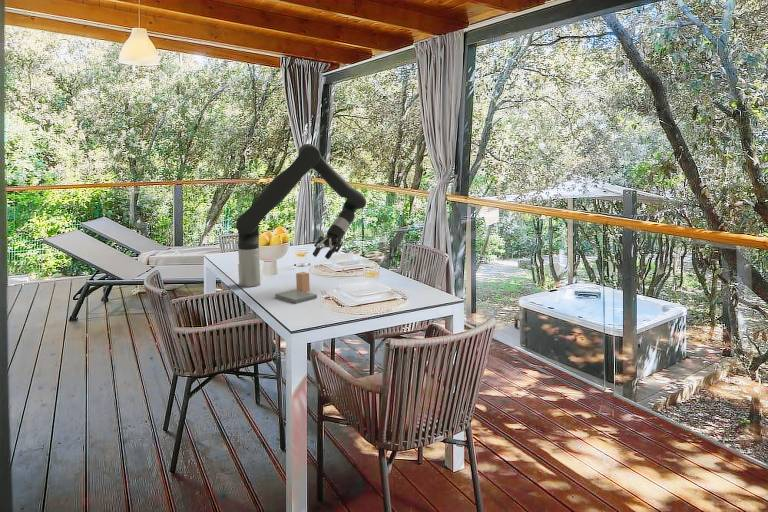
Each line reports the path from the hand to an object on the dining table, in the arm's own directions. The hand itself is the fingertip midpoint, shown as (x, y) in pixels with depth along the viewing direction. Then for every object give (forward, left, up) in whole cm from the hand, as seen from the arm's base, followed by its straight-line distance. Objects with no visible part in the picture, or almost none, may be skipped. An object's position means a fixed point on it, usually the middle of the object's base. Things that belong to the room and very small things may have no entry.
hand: (320, 256), depth 246 cm
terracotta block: (0, -10, -14) cm, 17 cm away
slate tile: (+7, -20, -14) cm, 25 cm away
